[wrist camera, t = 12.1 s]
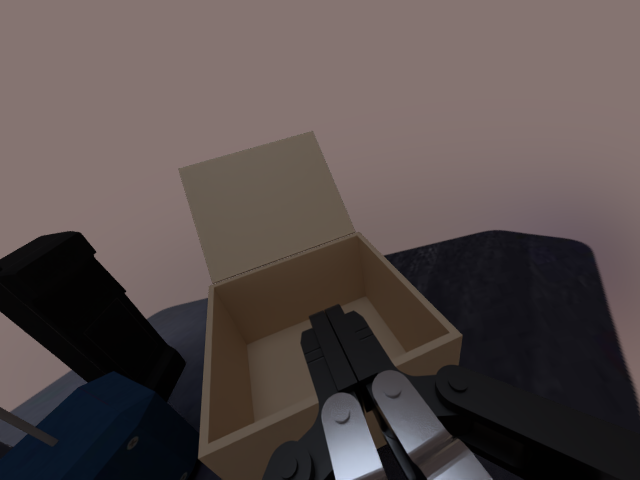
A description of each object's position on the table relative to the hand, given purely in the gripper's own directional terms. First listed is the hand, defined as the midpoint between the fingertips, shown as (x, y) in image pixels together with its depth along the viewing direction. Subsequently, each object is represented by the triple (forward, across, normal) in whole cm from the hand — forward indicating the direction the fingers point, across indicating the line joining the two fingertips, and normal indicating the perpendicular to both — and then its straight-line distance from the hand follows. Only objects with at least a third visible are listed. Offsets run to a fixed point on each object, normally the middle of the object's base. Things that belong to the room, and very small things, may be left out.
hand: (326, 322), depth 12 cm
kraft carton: (+11, 0, +21) cm, 24 cm away
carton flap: (+25, 0, +3) cm, 25 cm away
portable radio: (+20, +22, +21) cm, 36 cm away
